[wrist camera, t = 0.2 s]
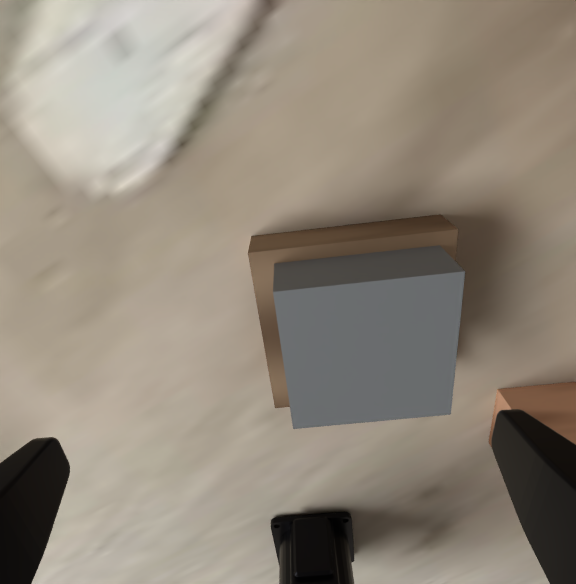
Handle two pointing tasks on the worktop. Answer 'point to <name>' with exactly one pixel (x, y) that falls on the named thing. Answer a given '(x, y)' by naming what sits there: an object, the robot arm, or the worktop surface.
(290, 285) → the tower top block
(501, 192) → the worktop surface
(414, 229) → the tower base block
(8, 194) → the worktop surface
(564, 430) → the terracotta cube
